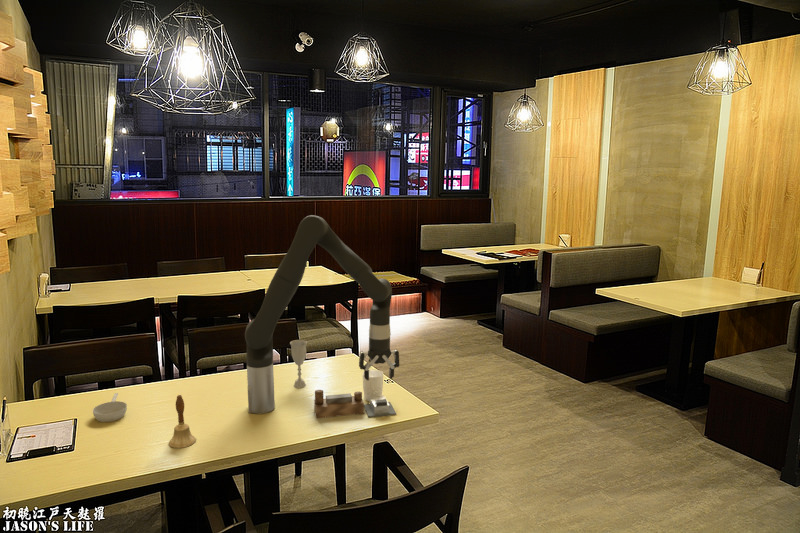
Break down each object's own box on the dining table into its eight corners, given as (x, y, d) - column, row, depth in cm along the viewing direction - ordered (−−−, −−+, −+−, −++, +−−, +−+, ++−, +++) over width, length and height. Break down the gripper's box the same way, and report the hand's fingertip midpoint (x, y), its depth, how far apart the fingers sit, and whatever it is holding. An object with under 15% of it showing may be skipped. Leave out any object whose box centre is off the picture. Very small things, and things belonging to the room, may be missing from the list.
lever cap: (369, 404, 214) (369, 393, 214) (384, 402, 216) (384, 392, 215) (374, 414, 206) (374, 403, 205) (389, 413, 207) (389, 402, 206)
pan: (90, 425, 198) (89, 414, 198) (101, 404, 215) (100, 394, 215) (124, 421, 201) (123, 411, 201) (132, 400, 218) (132, 391, 218)
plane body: (316, 418, 204) (315, 395, 202) (314, 410, 211) (313, 387, 209) (364, 413, 208) (363, 391, 206) (360, 405, 215) (360, 383, 213)
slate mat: (368, 417, 205) (368, 415, 205) (363, 405, 214) (363, 404, 214) (396, 414, 207) (396, 413, 207) (390, 403, 217) (390, 401, 217)
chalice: (290, 383, 236) (288, 340, 232) (307, 381, 238) (305, 339, 234) (292, 389, 229) (291, 346, 226) (309, 387, 231) (308, 344, 228)
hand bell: (200, 442, 187) (197, 395, 184) (175, 451, 181) (171, 403, 178) (189, 433, 193) (186, 388, 190) (164, 441, 187) (160, 395, 184)
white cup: (382, 402, 217) (382, 377, 216) (361, 402, 218) (361, 377, 216) (383, 394, 225) (383, 369, 223) (363, 393, 225) (363, 369, 224)
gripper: (396, 331, 211) (396, 373, 214) (357, 333, 207) (357, 376, 210) (401, 337, 203) (400, 381, 206) (361, 339, 200) (361, 384, 203)
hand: (379, 378), depth 208 cm, fingers open, 8 cm apart
